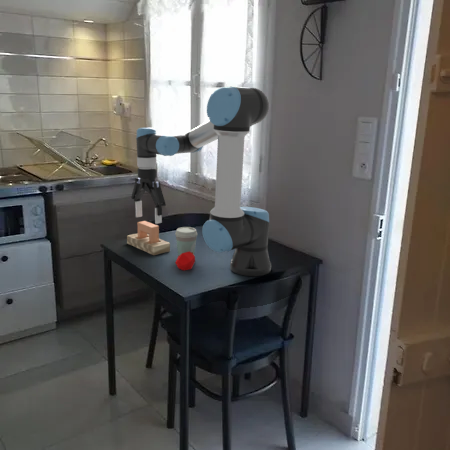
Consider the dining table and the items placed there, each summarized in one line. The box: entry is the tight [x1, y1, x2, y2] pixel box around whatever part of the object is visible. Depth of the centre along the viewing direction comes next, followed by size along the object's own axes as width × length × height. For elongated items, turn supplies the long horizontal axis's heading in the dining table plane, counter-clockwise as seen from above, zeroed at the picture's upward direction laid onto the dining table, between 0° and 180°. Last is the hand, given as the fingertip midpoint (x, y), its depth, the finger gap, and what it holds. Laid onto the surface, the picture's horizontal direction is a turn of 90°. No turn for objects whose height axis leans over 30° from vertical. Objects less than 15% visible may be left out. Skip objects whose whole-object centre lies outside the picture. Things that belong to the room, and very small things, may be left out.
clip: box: [137, 220, 160, 244], centre depth 198 cm, size 10×4×10 cm, turn 44°
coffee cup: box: [174, 226, 198, 257], centre depth 185 cm, size 8×8×12 cm
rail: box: [126, 232, 171, 256], centre depth 199 cm, size 19×8×4 cm, turn 44°
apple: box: [175, 252, 196, 271], centre depth 177 cm, size 7×7×8 cm
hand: (148, 219), depth 196 cm, fingers open, 13 cm apart
